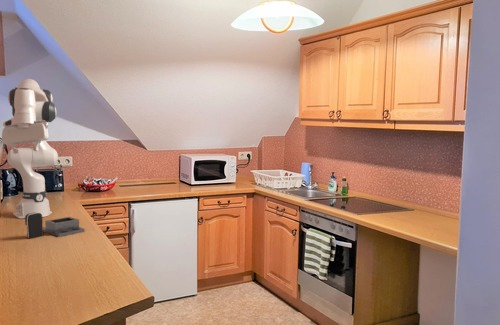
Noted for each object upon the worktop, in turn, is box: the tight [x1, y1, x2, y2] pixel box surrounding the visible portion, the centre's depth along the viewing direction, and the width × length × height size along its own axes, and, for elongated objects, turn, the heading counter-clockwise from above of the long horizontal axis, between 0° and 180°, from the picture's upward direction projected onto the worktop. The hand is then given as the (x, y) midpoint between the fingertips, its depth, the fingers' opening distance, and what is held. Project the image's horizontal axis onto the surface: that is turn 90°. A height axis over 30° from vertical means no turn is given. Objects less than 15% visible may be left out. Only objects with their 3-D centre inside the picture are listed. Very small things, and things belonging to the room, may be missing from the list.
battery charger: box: [24, 212, 44, 239], centre depth 208 cm, size 7×4×11 cm, turn 145°
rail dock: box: [42, 216, 86, 238], centre depth 219 cm, size 18×13×6 cm
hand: (25, 152), depth 198 cm, fingers open, 8 cm apart
